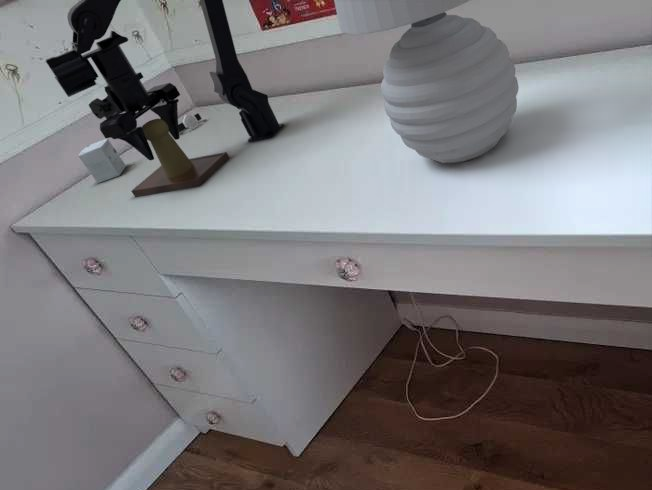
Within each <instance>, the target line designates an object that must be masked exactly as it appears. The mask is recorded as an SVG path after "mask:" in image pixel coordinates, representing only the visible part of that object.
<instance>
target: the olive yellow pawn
mask: <svg viewBox="0 0 652 490" xmlns="http://www.w3.org/2000/svg"><path fill="white" fill-rule="evenodd" d="M141 127H142V129H143V132H144V134H145V137H146V139H147V141H148V142H150V144H151V147H152V148H153V150H154V152H155V155H156V157H157V159H158V161H159V163H160V166H162V168H163V170H164V172H165V174H166V176H167V178H173V177H177V176H179V175H182V174H184V173H186V172H187V171H189V170H190V169H191V168H192V167H193V163H192V162H191V161H190V160H189V159H190V158H189V157H188V155H187V154H186V152H185V151H184V150H183V149H182V148H181V147H180V146H179V144H178V142H176V140H175V139H174V138H173V136H172V135H171V134H170V132H169V128H168V125H167V124H166V122H165V121H164V120H162V119H161V118H154V119H150V120H148V121H146V122H144V124H143V125H142V126H141Z"/></svg>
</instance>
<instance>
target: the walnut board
mask: <svg viewBox="0 0 652 490" xmlns="http://www.w3.org/2000/svg"><path fill="white" fill-rule="evenodd" d="M230 159H231V157H230V155H229V154H228V152H227V151H223V152H217V153H212V154H207V155H203V156H198V157H197V156H196V157H192V158H191V157H190V158H189V160H190V161H191V162H192V163H193V167H192V168H191V169H190V170H189V171H187V172H186V173H184V174H182V175H179V176H177V177H173V178H167V176H166V174H165V172H164V170H163V168H162V165H160V166H159V167H158V168H157V169H155V170H154V171H153V172H152V173H151V174H149V175H148V176H147V177H146V178H145V179H143V180H142V181H141V182H140V183H138V184H137V185H136V186H135V187H134V188H132V190H131V193H132V194H133V196H134V198H137V197H144V196H149V195H155V194H161V193H162V194H163V193H167V192H173V191H180V190H186V189H192V188H193V189H194V188H199V187H201V186H202V185H204V183H205V182H206V181H207V180H209V178H211V177H212V176H213V175H214V174H215V173H217V171H218V170H219V169H220V168H222V166H223V165H224V164H226V162H227V161H229V160H230Z"/></svg>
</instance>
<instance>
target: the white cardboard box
mask: <svg viewBox="0 0 652 490" xmlns="http://www.w3.org/2000/svg"><path fill="white" fill-rule="evenodd" d="M77 157H78V158H79V160H80V161H81V162H82V164H83V166H84V167H85V168H86V170H87V171H88V173H89V174H90V176H91V177H92V178H93V179H94V181H95V183H97V184H100V183H103V182H106V181H109V180H111V179H113V178H116V177H119V176H120V175H121V174H122V173H123V171H124V170H125V168H126V167H127V165H126V163H125V162H124V160H123V159H122V157H121V156H120V154H119V153H118V151H117V150H116V148H115V147H114V146H113V144H112V143H111V141H110V139H109V138H104V139H101V140H99V141H96V142H93V143H91V144H89V145H86V146H85V147H84V148H83V149H82V150H81V151H80V153H79V154H78V155H77Z"/></svg>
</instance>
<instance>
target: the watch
mask: <svg viewBox="0 0 652 490" xmlns="http://www.w3.org/2000/svg"><path fill="white" fill-rule="evenodd" d="M201 120H203V118H202V117H201V115H200V113H198V112H197V113H195V114H193V115H192V114H188V115H187V114H184V117H183V120H182V122H180V123H178V126H179V133H181V132H183V131H185V130H186V129H194V128H196V127H197V125H198V123H199V121H201Z"/></svg>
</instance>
